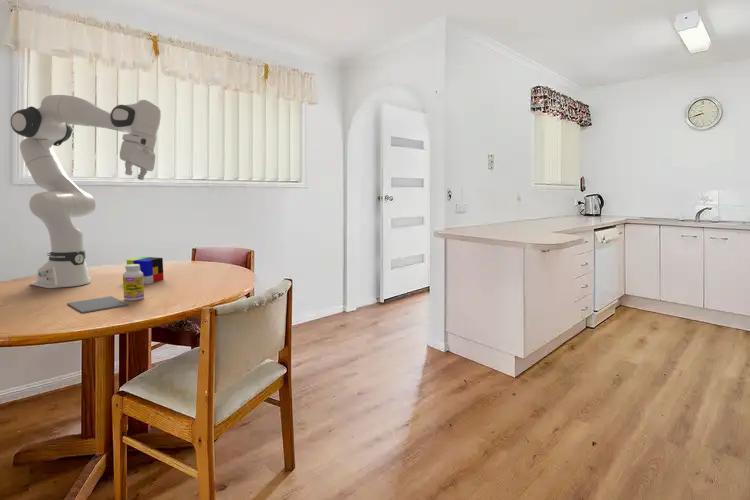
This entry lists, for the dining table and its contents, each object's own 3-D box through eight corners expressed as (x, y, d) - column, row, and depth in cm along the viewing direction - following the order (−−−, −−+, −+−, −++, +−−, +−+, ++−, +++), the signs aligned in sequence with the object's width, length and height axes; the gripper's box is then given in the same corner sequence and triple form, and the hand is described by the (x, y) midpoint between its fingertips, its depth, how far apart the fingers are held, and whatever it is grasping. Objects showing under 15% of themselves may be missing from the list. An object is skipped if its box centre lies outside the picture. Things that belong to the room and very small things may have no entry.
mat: (111, 297, 163) (111, 296, 163) (128, 305, 153) (128, 304, 153) (67, 304, 153) (67, 303, 153) (82, 313, 142) (82, 311, 142)
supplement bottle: (123, 301, 157) (121, 267, 156) (124, 297, 163) (122, 264, 161) (144, 300, 161) (142, 265, 159) (144, 296, 166) (142, 263, 165)
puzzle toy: (148, 284, 187) (146, 261, 186) (127, 282, 189) (126, 260, 188) (163, 279, 197) (162, 257, 195) (144, 278, 199) (143, 256, 197)
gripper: (146, 147, 178) (139, 180, 178) (120, 133, 158) (111, 170, 157) (161, 151, 179) (154, 183, 178) (137, 137, 158) (129, 173, 158)
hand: (134, 177), depth 167 cm, fingers open, 8 cm apart
